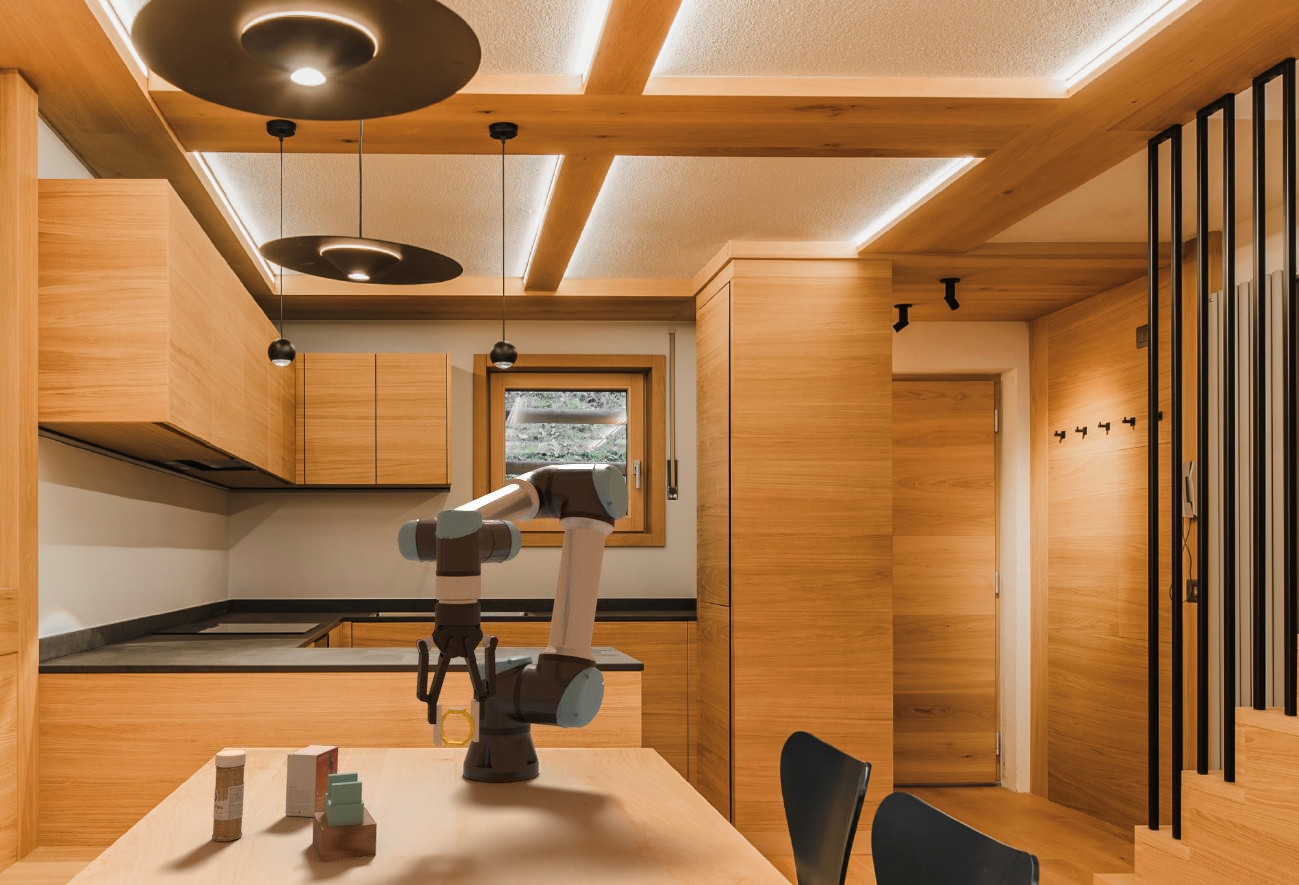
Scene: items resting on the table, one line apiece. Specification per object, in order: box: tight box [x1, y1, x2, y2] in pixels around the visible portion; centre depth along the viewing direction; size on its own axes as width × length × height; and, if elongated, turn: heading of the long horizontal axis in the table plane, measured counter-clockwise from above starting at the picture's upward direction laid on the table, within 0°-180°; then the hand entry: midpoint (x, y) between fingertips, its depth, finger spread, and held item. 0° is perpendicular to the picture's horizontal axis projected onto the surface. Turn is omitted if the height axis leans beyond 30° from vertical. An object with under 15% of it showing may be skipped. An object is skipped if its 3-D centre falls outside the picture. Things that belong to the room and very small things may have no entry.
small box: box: [285, 744, 339, 818], centre depth 179 cm, size 8×6×10 cm
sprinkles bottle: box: [211, 749, 247, 842], centre depth 163 cm, size 5×5×14 cm
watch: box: [441, 706, 475, 746], centre depth 169 cm, size 6×3×6 cm, turn 79°
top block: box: [324, 772, 365, 827], centre depth 158 cm, size 5×8×6 cm, turn 22°
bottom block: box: [312, 806, 378, 863], centre depth 158 cm, size 8×10×5 cm
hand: (456, 741), depth 169 cm, fingers closed on watch, 5 cm apart
